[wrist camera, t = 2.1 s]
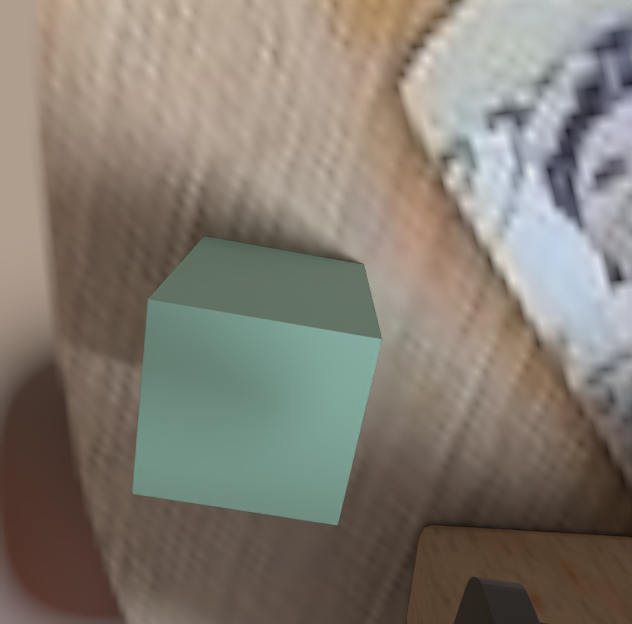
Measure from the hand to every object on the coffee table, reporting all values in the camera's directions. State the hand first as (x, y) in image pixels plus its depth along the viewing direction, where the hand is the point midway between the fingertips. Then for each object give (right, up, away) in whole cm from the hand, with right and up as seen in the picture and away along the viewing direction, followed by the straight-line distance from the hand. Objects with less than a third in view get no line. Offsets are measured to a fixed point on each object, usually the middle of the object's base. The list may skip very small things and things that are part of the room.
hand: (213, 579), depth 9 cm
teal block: (0, +4, +10) cm, 10 cm away
